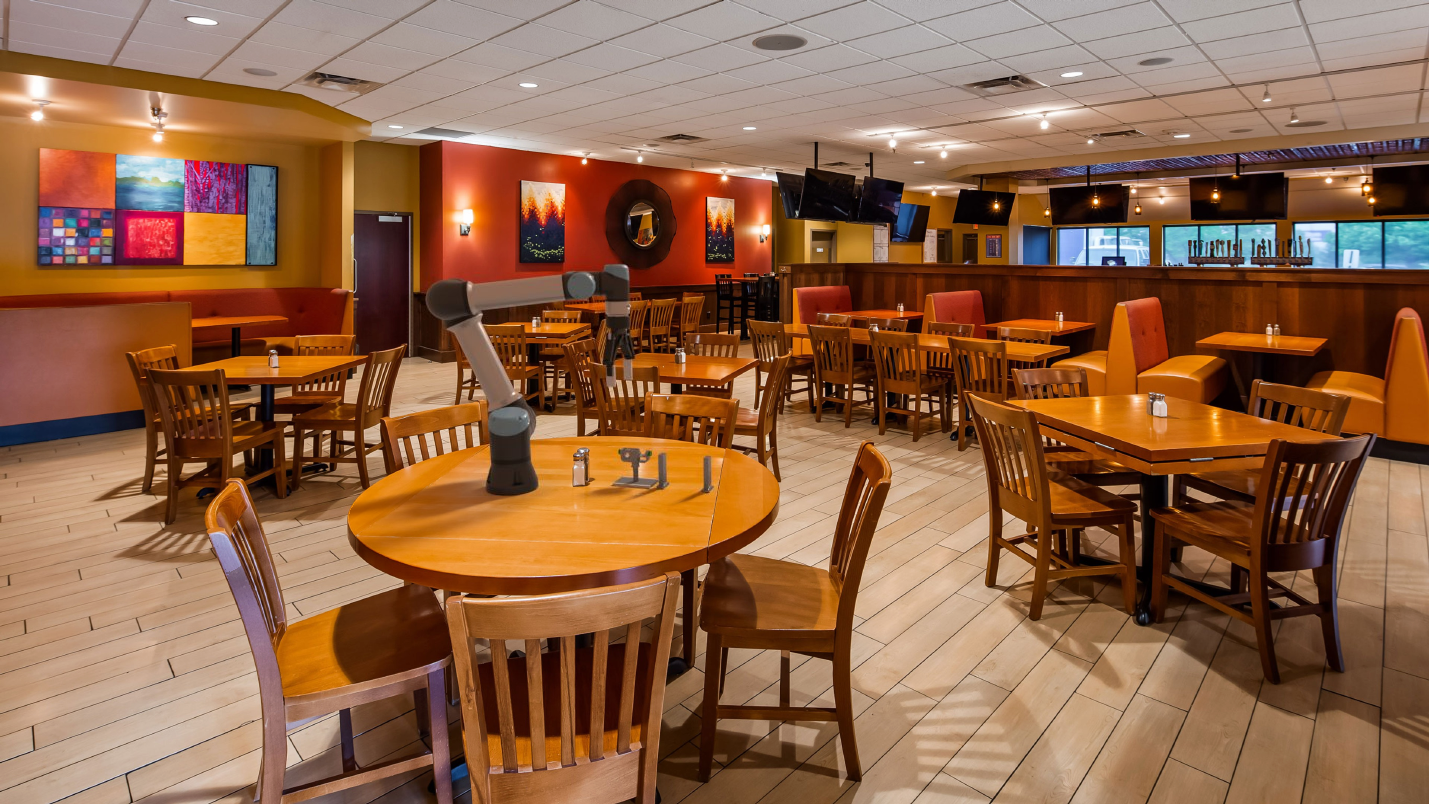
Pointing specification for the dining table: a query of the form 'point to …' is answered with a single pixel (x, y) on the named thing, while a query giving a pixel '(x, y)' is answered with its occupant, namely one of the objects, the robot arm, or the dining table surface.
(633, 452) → the mechanical component
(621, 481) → the mat
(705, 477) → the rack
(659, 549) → the dining table surface
